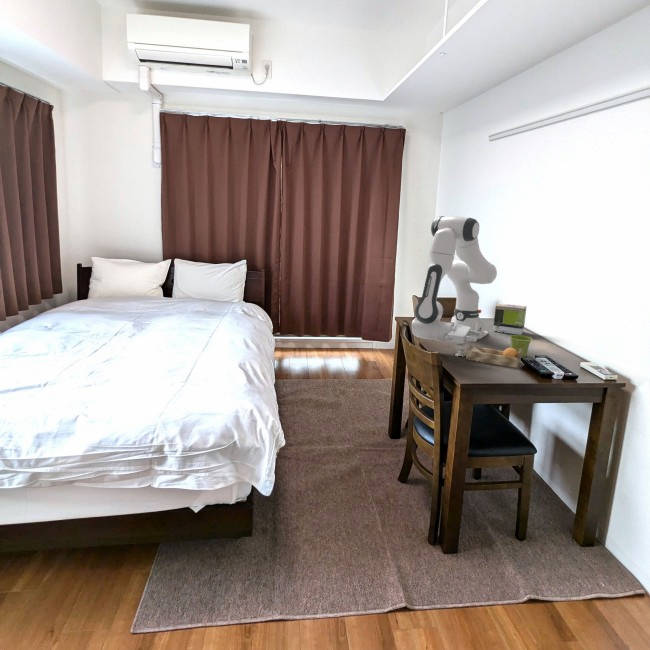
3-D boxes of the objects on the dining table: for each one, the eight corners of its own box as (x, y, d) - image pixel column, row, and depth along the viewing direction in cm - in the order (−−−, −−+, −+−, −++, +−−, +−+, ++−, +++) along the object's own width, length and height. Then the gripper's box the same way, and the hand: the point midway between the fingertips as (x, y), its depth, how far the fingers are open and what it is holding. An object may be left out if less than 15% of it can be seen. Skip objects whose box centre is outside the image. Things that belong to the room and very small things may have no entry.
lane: (465, 359, 212) (467, 345, 210) (469, 354, 219) (470, 340, 218) (518, 368, 203) (520, 353, 201) (520, 362, 210) (522, 348, 209)
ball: (511, 360, 211) (503, 349, 212) (522, 354, 207) (514, 343, 208) (506, 365, 207) (497, 354, 208) (517, 360, 203) (508, 348, 204)
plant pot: (516, 359, 215) (519, 340, 213) (503, 353, 223) (505, 335, 221) (533, 358, 217) (536, 340, 215) (520, 352, 226) (522, 334, 224)
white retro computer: (523, 331, 265) (527, 305, 262) (521, 335, 256) (525, 308, 253) (495, 327, 272) (498, 302, 268) (492, 331, 263) (495, 305, 260)
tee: (454, 356, 216) (455, 345, 215) (456, 353, 220) (457, 343, 219) (464, 357, 214) (465, 346, 213) (466, 355, 218) (467, 344, 217)
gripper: (442, 330, 208) (475, 335, 202) (452, 321, 226) (482, 325, 220) (441, 344, 209) (473, 349, 203) (450, 334, 227) (480, 338, 221)
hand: (478, 336), depth 212 cm, fingers open, 8 cm apart
